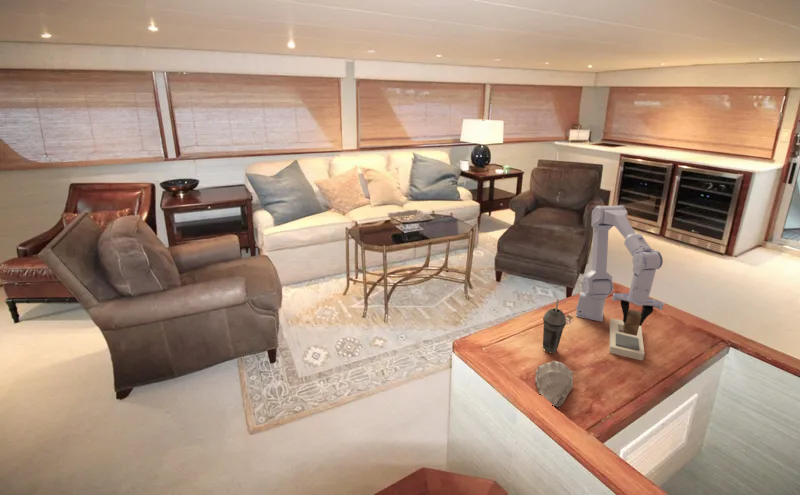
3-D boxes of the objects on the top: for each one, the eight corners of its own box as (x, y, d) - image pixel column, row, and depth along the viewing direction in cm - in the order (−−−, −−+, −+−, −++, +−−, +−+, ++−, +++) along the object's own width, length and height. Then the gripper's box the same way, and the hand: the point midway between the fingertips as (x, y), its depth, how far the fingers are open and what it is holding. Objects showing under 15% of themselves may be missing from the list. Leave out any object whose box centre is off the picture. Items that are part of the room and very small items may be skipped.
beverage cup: (561, 346, 144) (571, 295, 137) (559, 358, 138) (569, 305, 131) (540, 341, 147) (548, 290, 140) (537, 352, 141) (545, 300, 133)
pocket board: (609, 352, 141) (610, 346, 140) (609, 323, 158) (611, 318, 157) (642, 360, 137) (644, 354, 136) (639, 330, 154) (641, 324, 153)
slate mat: (615, 345, 141) (616, 343, 141) (615, 334, 147) (615, 333, 147) (639, 350, 138) (639, 349, 138) (638, 339, 144) (638, 338, 144)
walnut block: (623, 332, 140) (627, 314, 138) (623, 326, 143) (627, 309, 141) (636, 335, 139) (641, 317, 136) (636, 329, 142) (640, 311, 139)
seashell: (547, 410, 116) (552, 382, 112) (527, 378, 129) (531, 351, 125) (588, 407, 117) (594, 378, 114) (565, 375, 130) (570, 348, 127)
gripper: (616, 287, 134) (608, 323, 139) (668, 296, 128) (657, 334, 133) (616, 278, 140) (608, 313, 145) (665, 287, 134) (655, 323, 139)
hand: (631, 322), depth 139 cm, fingers closed on walnut block, 4 cm apart
